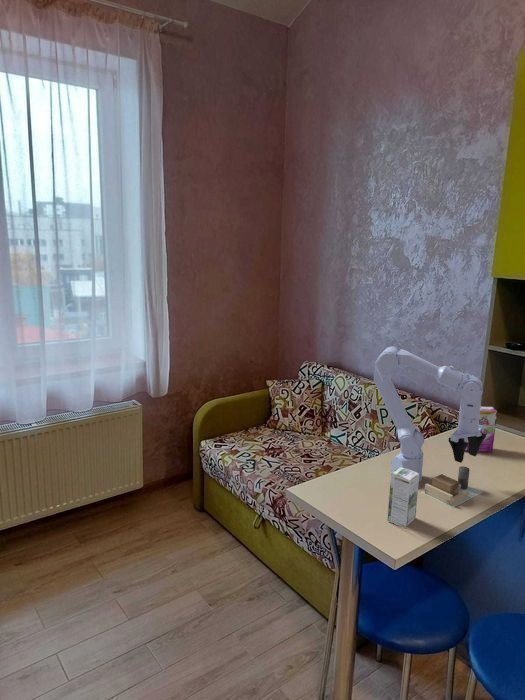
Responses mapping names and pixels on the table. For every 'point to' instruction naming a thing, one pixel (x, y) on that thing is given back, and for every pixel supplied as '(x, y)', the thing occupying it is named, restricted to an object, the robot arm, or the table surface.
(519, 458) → the table surface
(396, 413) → the robot arm
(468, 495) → the lane board
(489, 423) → the candy bar box
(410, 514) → the syrup box
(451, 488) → the brown piece
